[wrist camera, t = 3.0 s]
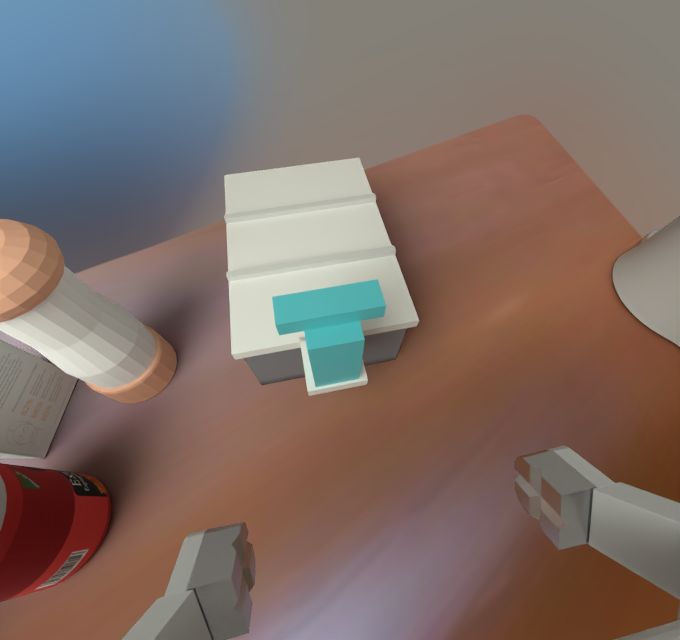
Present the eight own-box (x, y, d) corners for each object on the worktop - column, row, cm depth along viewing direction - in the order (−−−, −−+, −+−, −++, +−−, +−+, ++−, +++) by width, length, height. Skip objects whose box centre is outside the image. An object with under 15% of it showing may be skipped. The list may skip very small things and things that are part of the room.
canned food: (127, 473, 29) (21, 458, 19) (95, 587, 25) (-58, 639, 15) (41, 474, 29) (-107, 459, 19) (-5, 588, 25) (-219, 641, 15)
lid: (358, 165, 37) (363, 79, 30) (433, 371, 25) (473, 313, 17) (227, 183, 36) (196, 96, 28) (237, 410, 24) (188, 365, 16)
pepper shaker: (110, 343, 35) (-98, 199, 19) (179, 332, 36) (38, 184, 19) (98, 410, 32) (-172, 306, 15) (175, 396, 32) (-3, 283, 16)
